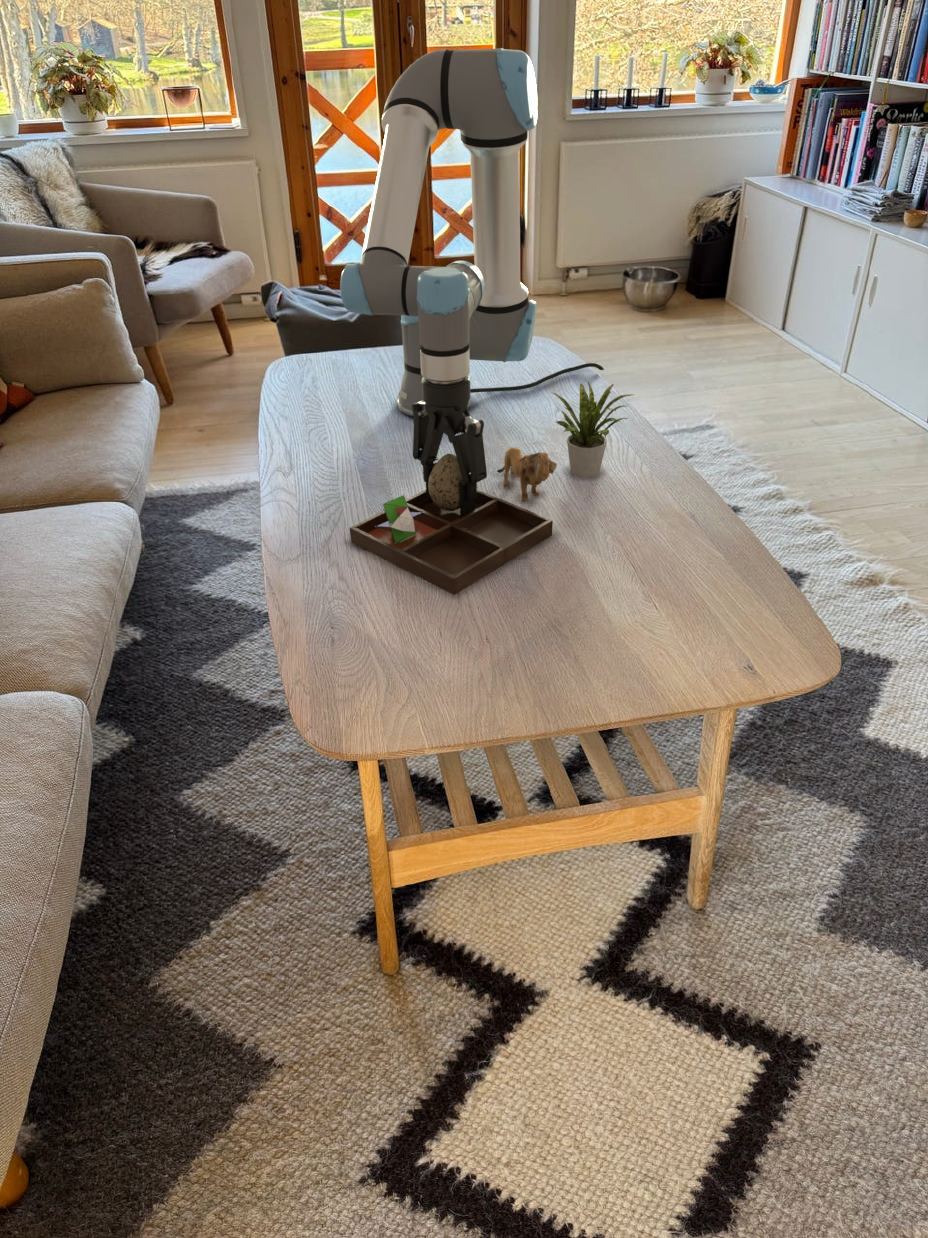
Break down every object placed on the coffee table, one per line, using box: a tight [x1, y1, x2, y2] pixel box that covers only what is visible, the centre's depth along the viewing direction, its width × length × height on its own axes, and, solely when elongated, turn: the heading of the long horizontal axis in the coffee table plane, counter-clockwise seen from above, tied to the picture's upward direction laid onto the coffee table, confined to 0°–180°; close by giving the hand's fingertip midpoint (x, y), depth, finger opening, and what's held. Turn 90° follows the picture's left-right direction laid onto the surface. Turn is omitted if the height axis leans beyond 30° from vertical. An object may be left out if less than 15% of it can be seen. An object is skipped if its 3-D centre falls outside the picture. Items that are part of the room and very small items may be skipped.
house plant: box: [550, 381, 634, 479], centre depth 166 cm, size 14×14×16 cm
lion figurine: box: [496, 446, 558, 502], centre depth 164 cm, size 15×5×9 cm, turn 35°
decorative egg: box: [428, 453, 463, 511], centre depth 156 cm, size 7×7×10 cm
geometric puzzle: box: [375, 494, 424, 544], centre depth 150 cm, size 7×7×8 cm
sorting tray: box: [349, 488, 554, 596], centre depth 152 cm, size 23×23×3 cm
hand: (450, 507), depth 158 cm, fingers closed on decorative egg, 7 cm apart
